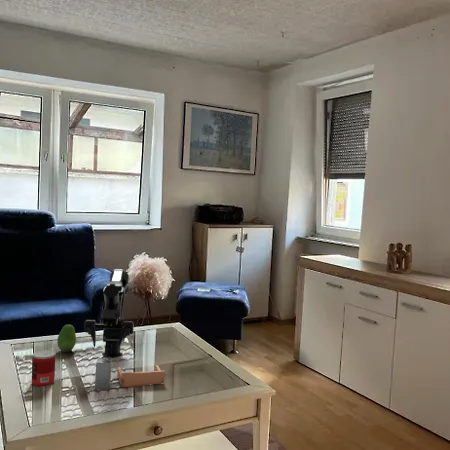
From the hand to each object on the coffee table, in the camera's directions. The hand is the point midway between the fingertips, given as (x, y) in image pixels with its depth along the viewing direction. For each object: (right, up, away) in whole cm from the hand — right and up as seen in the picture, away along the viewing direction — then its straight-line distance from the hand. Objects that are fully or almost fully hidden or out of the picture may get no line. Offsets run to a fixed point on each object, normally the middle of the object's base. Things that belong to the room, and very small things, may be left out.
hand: (106, 347), depth 178 cm
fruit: (-25, -9, +28) cm, 39 cm away
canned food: (-22, -12, -6) cm, 26 cm away
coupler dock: (+12, -13, +3) cm, 18 cm away
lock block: (0, -13, -6) cm, 14 cm away
